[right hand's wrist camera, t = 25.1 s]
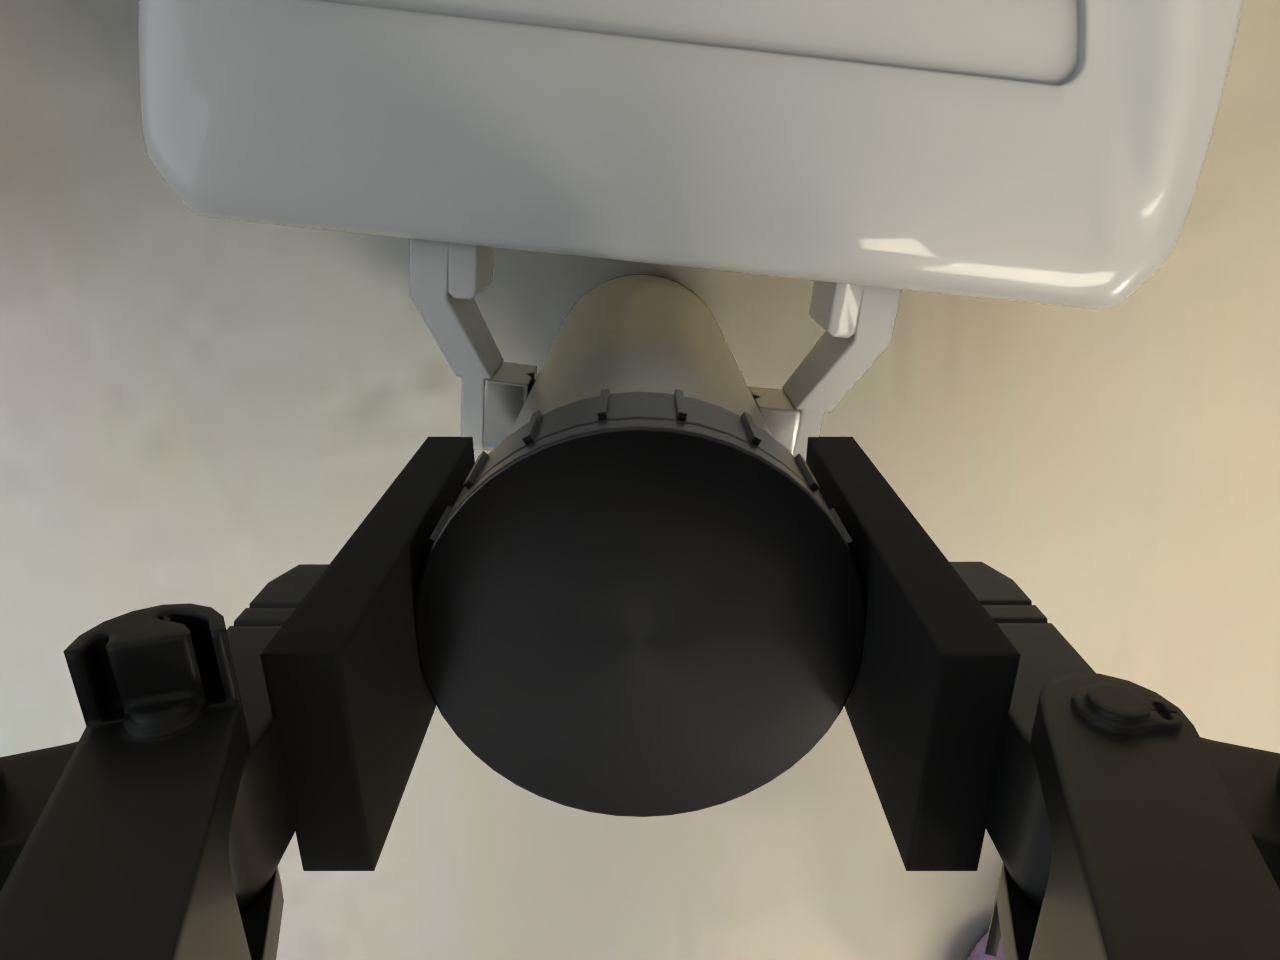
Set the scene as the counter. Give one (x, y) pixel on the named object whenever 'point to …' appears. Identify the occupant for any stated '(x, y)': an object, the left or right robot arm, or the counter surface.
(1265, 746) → the counter surface
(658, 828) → the counter surface
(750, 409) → the thermos bottle
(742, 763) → the lid
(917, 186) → the left robot arm
